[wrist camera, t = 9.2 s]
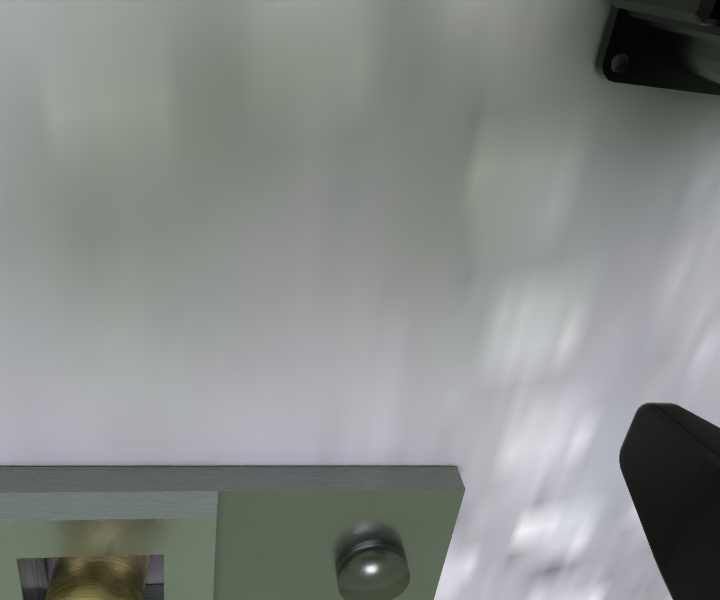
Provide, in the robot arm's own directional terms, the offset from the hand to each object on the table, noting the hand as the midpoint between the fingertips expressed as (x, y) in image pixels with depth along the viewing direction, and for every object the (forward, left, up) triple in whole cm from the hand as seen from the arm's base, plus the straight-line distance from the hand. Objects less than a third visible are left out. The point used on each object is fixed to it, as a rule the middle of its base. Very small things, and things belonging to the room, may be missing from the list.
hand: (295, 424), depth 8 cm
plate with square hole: (+5, +16, -12) cm, 21 cm away
